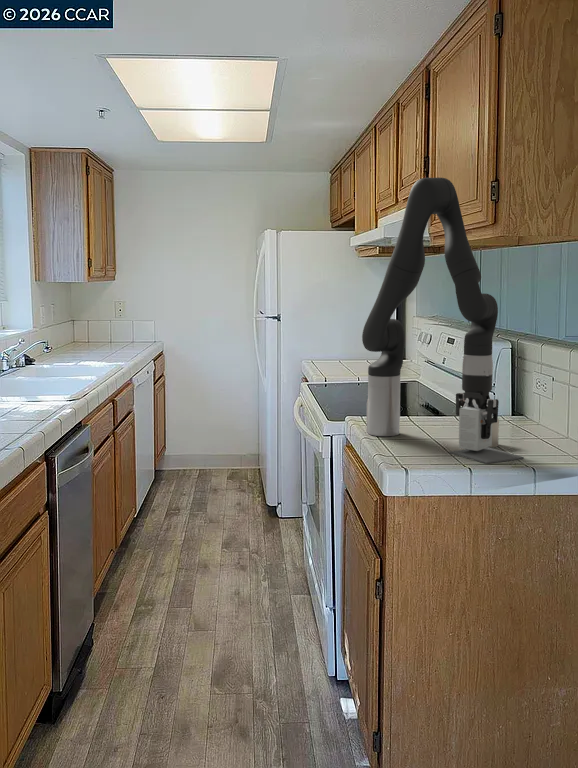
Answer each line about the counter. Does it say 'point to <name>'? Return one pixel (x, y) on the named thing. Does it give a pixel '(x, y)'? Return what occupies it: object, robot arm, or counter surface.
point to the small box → (472, 429)
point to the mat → (487, 455)
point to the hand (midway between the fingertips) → (475, 435)
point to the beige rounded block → (495, 434)
